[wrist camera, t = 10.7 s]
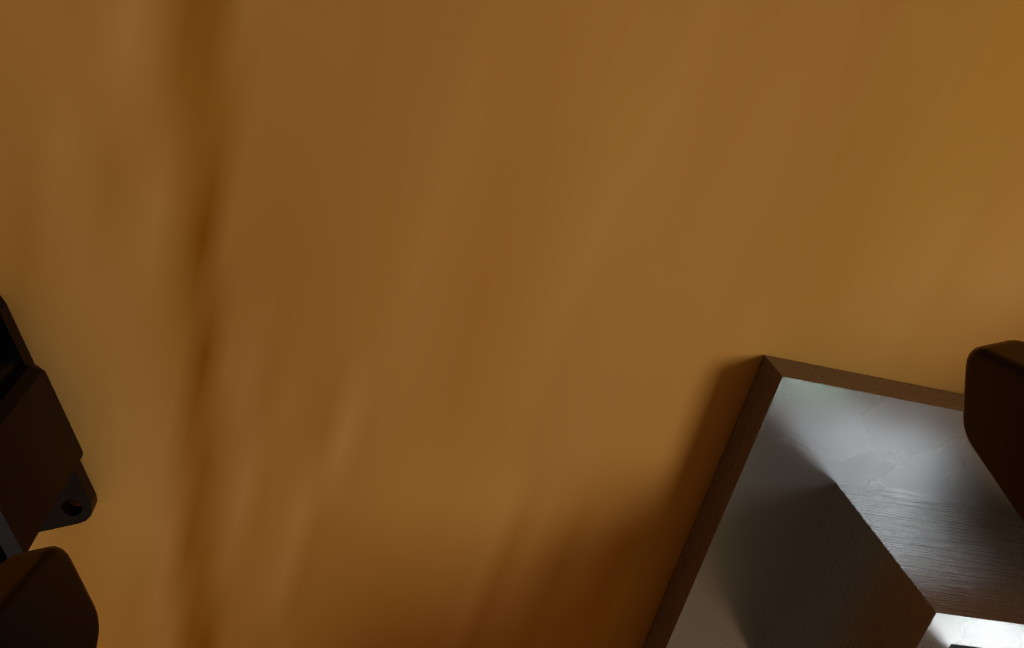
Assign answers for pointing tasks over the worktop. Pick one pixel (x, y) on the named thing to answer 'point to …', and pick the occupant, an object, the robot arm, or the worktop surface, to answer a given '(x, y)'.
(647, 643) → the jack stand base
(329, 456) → the worktop surface
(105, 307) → the worktop surface
